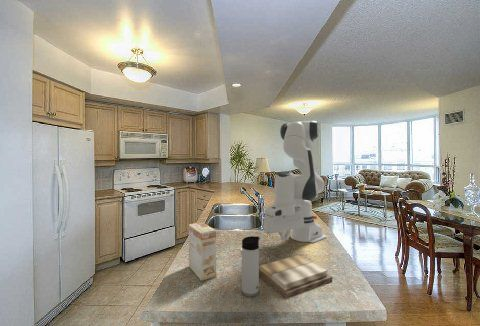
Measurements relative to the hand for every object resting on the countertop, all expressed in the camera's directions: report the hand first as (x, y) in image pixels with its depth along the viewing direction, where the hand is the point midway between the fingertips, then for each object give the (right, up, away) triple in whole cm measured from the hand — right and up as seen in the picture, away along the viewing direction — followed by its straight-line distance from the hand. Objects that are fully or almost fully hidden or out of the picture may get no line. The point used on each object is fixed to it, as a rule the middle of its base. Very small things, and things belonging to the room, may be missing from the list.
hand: (284, 240), depth 99 cm
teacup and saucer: (-18, -14, +20) cm, 30 cm away
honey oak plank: (0, -12, -2) cm, 12 cm away
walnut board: (+2, -13, -5) cm, 15 cm away
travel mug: (-16, -14, -16) cm, 26 cm away
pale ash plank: (+4, -12, -9) cm, 16 cm away
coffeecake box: (-36, -14, -1) cm, 39 cm away
